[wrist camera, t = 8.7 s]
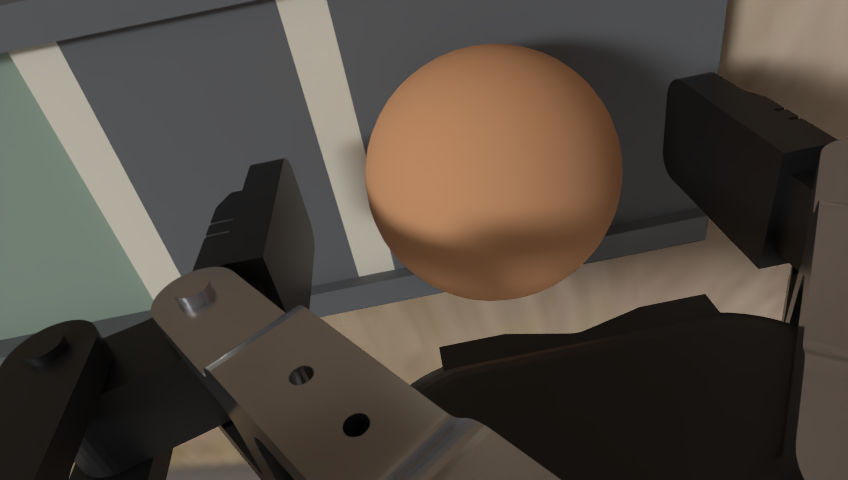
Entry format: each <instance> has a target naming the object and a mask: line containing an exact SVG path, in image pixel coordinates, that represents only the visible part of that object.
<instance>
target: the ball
mask: <svg viewBox="0 0 848 480" xmlns="http://www.w3.org/2000/svg"><path fill="white" fill-rule="evenodd" d="M622 176H623V172H622V155H621V148H620V143H619V138H618V135H617V132H616V130H615V127H614V124H613V121H612V119H611V116H610V114H609V112H608V110H607V109H606V107H605V105H604V103H603V102H602V100H601V99H600V98H599V96H598V95H597V94H596V92H595V91H594V90H593V89H592V87H591V86H590V85H589V84H588V82H586V81H585V80H584V79H583V78H582V77H581V76H580V75H579V74H578V73H577V72H575V71H574V70H573V69H571V68H570V67H568V66H567V65H565V64H564V63H562V62H561V61H559V60H558V59H556V58H554V57H552V56H549V55H547V54H545V53H543V52H540V51H537V50H533V49H530V48H526V47H523V46H518V45H510V44H481V45H474V46H469V47H465V48H461V49H458V50H454V51H452V52H449V53H447V54H444V55H442V56H439V57H437V58H436V59H434V60H432V61H430V62H429V63H427V64H425V65H423V66H422V67H421V68H419V69H418V70H417V71H416V72H414V73H413V74H412V75H410V76H409V77H408V78H407V79H406V80H405V81H404V82H403V83H402V84H401V85H400V86H399V87H398V88H397V89H396V91H395V92H394V93H393V94H392V96H391V97H390V98H389V100H388V101H387V103H386V104H385V106H384V108H383V110H382V111H381V113H380V115H379V117H378V119H377V122H376V124H375V127H374V129H373V131H372V134H371V137H370V141H369V145H368V149H367V158H366V167H365V182H366V191H367V196H368V201H369V207H370V210H371V213H372V216H373V219H374V222H375V224H376V226H377V228H378V230H379V232H380V234H381V236H382V238H383V240H384V242H385V243H386V244H387V246H388V247H389V248H390V250H391V251H392V253H393V254H394V255H395V256H396V257H397V259H398V260H399V261H400V262H401V263H402V264H403V265H404V266H405V267H406V268H407V269H408V270H410V271H411V272H412V273H414V274H415V275H416V276H418V277H419V278H420V279H422V280H423V281H425V282H426V283H428V284H430V285H432V286H433V287H435V288H437V289H440V290H442V291H445V292H447V293H450V294H453V295H456V296H460V297H463V298H468V299H474V300H486V301H495V300H509V299H516V298H521V297H525V296H529V295H532V294H535V293H538V292H540V291H543V290H545V289H547V288H549V287H551V286H553V285H555V284H557V283H558V282H560V281H562V280H563V279H565V278H566V277H567V276H569V275H570V274H571V273H573V272H574V271H575V270H576V269H577V268H579V267H580V266H581V265H582V264H583V263H584V262H585V261H586V260H587V259H588V258H589V257H590V256H591V255H592V253H593V252H594V251H595V250H596V248H597V247H598V246H599V244H600V243H601V241H602V240H603V238H604V236H605V234H606V232H607V231H608V229H609V227H610V225H611V223H612V220H613V218H614V215H615V213H616V210H617V206H618V202H619V198H620V192H621V185H622Z"/></svg>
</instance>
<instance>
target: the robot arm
mask: <svg viewBox="0 0 848 480" xmlns="http://www.w3.org/2000/svg"><path fill="white" fill-rule="evenodd" d="M663 160H664V165H665V168H666V171H667V173H668V175H669V176H670V178H671V179H672V180H673V181H674V182H675V183H676V184H677V185H678V186H679V187H680V188H681V189H682V190H683V191H684V192H685V193H686V194H687V195H688V196H689V197H690V199H691V200H692V201H693V202H694V203H695V204H696V205H697V206H698V207H699V208H700V209H701V210H702V211H703V212H704V213H705V214H706V215H707V216H708V217H709V218H710V219H711V220H712V221H713V222H714V223H715V224H716V225H717V226H718V227H719V228H720V229H721V230H722V232H723V233H724V234H725V235H726V236H727V237H728V238H729V239H730V240H731V241H732V242H733V243H734V244H735V245H736V246H737V247H738V248H739V249H740V250H741V251H742V252H743V253H744V254H745V255H746V256H747V257H748V258H749V259H750V260H751V261H752V262H753V263H754V264H755V266H756V267H757V268H758V269H761V268H766V267H771V266H776V265H781V264H786V263H790V264H791V265H792V267H791V271H790V275H789V279H788V284H787V290H786V296H785V303H784V309H783V315H782V321H779V320H775V319H771V318H766V317H762V316H755V315H748V314H739V313H720V312H719V311H718V309H717V308H716V307H715V306H714V304H713V303H712V302H711V301H710V299H709V298H708V297H707V296H706V294H703V295H698V296H693V297H688V298H683V299H678V300H673V301H668V302H663V303H658V304H653V305H648V306H643V307H639V308H637V309H634V310H632V311H630V312H627V313H625V314H623V315H620V316H618V317H616V318H613V319H611V320H608V321H606V322H604V323H601V324H599V325H597V326H594V327H592V328H590V329H587V330H585V331H582V332H579V333H572V334H503V335H498V336H493V337H488V338H483V339H478V340H473V341H468V342H463V343H458V344H453V345H448V346H443V347H439V348H440V354H441V360H442V365H443V367H442V368H439V369H437V370H435V371H433V372H431V373H429V374H427V375H425V376H424V377H422V378H420V379H418V380H417V381H415V382H414V383H413V384H411V385H409V384H408V383H406V382H405V381H404V380H402V379H401V378H400V377H398V376H397V375H396V374H394V373H393V372H392V371H390V370H389V369H388V368H386V367H385V366H384V365H382V364H381V363H380V362H378V361H377V360H376V359H374V358H373V357H372V356H370V355H369V354H368V353H366V352H365V351H364V350H362V349H361V348H360V347H358V346H357V345H356V344H354V343H353V342H352V341H350V340H349V339H348V338H346V337H345V336H344V335H342V334H341V333H339V332H338V331H337V330H335V329H334V328H333V327H331V326H330V325H329V324H327V323H326V322H325V321H323V320H322V319H321V318H319V317H318V316H317V315H315V314H314V313H313V312H311V311H310V310H309V309H310V297H311V286H312V274H313V263H314V252H315V243H314V235H313V230H312V226H311V222H310V219H309V216H308V213H307V210H306V207H305V204H304V201H303V199H302V196H301V193H300V190H299V187H298V184H297V181H296V178H295V175H294V172H293V169H292V167H291V164H290V162H289V161H288V159H287V158H283V159H278V160H273V161H268V162H263V163H258V164H253V165H250V167H249V170H248V173H247V176H246V180H245V183H244V186H243V189H242V190H241V191H236V192H231V193H230V194H229V195H228V196H227V197H226V198H225V199H224V200H223V201H222V202H221V203H220V204H219V205H218V206H217V207H216V209H215V212H214V214H213V217H212V220H211V222H210V223H211V225H210V226H209V228H208V230H207V233H206V238H204V241H203V244H202V246H201V249H200V252H199V255H198V257H197V260H196V263H195V265H194V268H193V271H192V272H190V273H187V274H185V275H183V276H181V277H179V278H177V279H176V280H174V281H172V282H171V283H170V284H168V285H167V286H166V287H165V288H163V289H162V290H161V291H160V292H159V294H158V295H157V296H156V298H155V299H154V301H153V303H152V306H151V315H152V318H150V319H148V320H146V321H144V322H141V323H139V324H137V325H134V326H132V327H129V328H127V329H124V330H122V331H119V332H117V333H115V334H112V335H110V336H107V337H105V338H103V337H102V335H101V334H100V332H99V331H98V329H97V328H96V327H95V325H94V324H93V323H91V322H90V321H86V320H70V321H64V322H61V323H57V324H55V325H52V326H49V327H47V328H45V329H43V330H41V331H39V332H37V333H35V334H34V335H32V336H31V337H29V338H28V339H26V340H25V341H23V342H22V343H21V344H19V345H18V346H17V347H16V348H15V349H14V350H13V351H12V352H11V353H10V354H9V355H8V356H7V357H6V359H5V360H4V361H3V363H2V364H1V366H0V480H166V477H167V473H168V468H169V464H170V460H171V455H172V451H173V448H174V447H176V446H178V445H180V444H182V443H184V442H186V441H188V440H191V439H193V438H195V437H197V436H199V435H201V434H203V433H205V432H207V431H210V430H212V429H214V428H216V427H219V428H220V430H221V431H222V433H223V434H224V435H225V436H226V437H227V439H228V440H229V441H230V442H231V444H232V445H233V446H234V447H235V449H236V450H237V451H238V452H239V453H240V455H241V456H242V457H243V458H244V460H245V461H246V462H247V463H248V465H249V466H250V467H251V468H252V470H253V471H254V472H255V473H256V474H257V476H258V477H259V478H260V479H261V480H848V138H846V139H841V140H837V139H835V138H834V137H832V136H830V135H829V134H827V133H825V132H824V131H822V130H820V129H819V128H817V127H815V126H814V125H812V124H810V123H809V122H807V121H805V120H804V119H802V118H801V119H798V116H797V115H795V114H794V113H792V112H790V111H789V110H784V107H782V106H780V105H779V104H777V103H775V102H774V101H772V100H770V99H769V98H767V97H764V96H761V95H757V94H754V93H750V92H747V91H743V90H741V89H740V88H738V87H736V86H735V85H733V84H732V83H730V82H728V81H727V80H725V79H723V78H722V77H720V76H719V75H717V74H715V73H713V72H709V73H704V74H699V75H694V76H689V77H684V78H680V79H675V80H673V81H672V82H671V83H670V85H669V88H668V92H667V102H666V115H665V128H664V141H663ZM74 462H75V466H74V469H73V471H72V474H71V476H70V479H69V475H70V471H71V468H72V466H73V463H74Z"/></svg>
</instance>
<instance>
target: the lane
mask: <svg viewBox="0 0 848 480" xmlns="http://www.w3.org/2000/svg"><path fill="white" fill-rule="evenodd" d="M727 2H728V0H0V366H1V364H2V363H3V361H4V360H5V359H6V357H7V356H8V355H9V354H10V353H11V352H12V351H13V350H14V349H15V348H16V347H17V346H18V345H19V344H21V343H22V342H23V341H25V340H26V339H28V338H29V337H31V336H32V335H34V334H35V333H37V332H39V331H41V330H43V329H45V328H47V327H49V326H52V325H55V324H57V323H61V322H64V321H70V320H86V321H90V322H91V323H93V324H94V325H95V327H96V328H97V329H98V331H99V332H100V334H101V335H102V337H103V338H105V337H107V336H110V335H112V334H115V333H117V332H119V331H122V330H124V329H127V328H129V327H132V326H134V325H137V324H139V323H141V322H144V321H146V320H148V319H150V318H152V315H151V306H152V303H153V301H154V299H155V298H156V296H157V295H158V294H159V292H160V291H161V290H162V289H163V288H165V287H166V286H167V285H168V284H170V283H171V282H172V281H174V280H176V279H177V278H179V277H181V276H183V275H185V274H187V273H190V272H192V271H193V268H194V265H195V263H196V260H197V257H198V255H199V252H200V249H201V246H202V244H203V241H204V238H206V233H207V230H208V228H209V226H210V225H211V223H210V222H211V220H212V217H213V214H214V212H215V209H216V207H217V206H218V205H219V204H220V203H221V202H222V201H223V200H224V199H225V198H226V197H227V196H228V195H229V194H230V193H231V192H236V191H241V190H242V189H243V186H244V183H245V180H246V176H247V173H248V170H249V167H250V165H253V164H258V163H263V162H268V161H273V160H278V159H283V158H287V159H288V161H289V162H290V164H291V167H292V169H293V172H294V175H295V178H296V181H297V184H298V187H299V190H300V193H301V196H302V199H303V201H304V204H305V207H306V210H307V213H308V216H309V219H310V222H311V226H312V230H313V235H314V243H315V252H314V263H313V274H312V286H311V297H310V309H309V310H310V311H311V312H313V313H314V314H315V315H317V316H318V317H323V316H328V315H333V314H338V313H343V312H348V311H353V310H358V309H363V308H368V307H373V306H378V305H383V304H388V303H393V302H398V301H403V300H408V299H413V298H418V297H423V296H428V295H433V294H438V293H443V292H445V291H442V290H440V289H437V288H435V287H433V286H432V285H430V284H428V283H426V282H425V281H423V280H422V279H420V278H419V277H418V276H416V275H415V274H414V273H412V272H411V271H410V270H408V269H407V268H406V267H405V266H404V265H403V264H402V263H401V262H400V261H399V260H398V259H397V257H396V256H395V255H394V254H393V253H392V251H391V250H390V248H389V247H388V246H387V244H386V243H385V242H384V240H383V238H382V236H381V234H380V232H379V230H378V228H377V226H376V224H375V222H374V219H373V216H372V213H371V210H370V207H369V201H368V196H367V191H366V182H365V167H366V158H367V149H368V145H369V141H370V137H371V134H372V131H373V129H374V127H375V124H376V122H377V119H378V117H379V115H380V113H381V111H382V110H383V108H384V106H385V104H386V103H387V101H388V100H389V98H390V97H391V96H392V94H393V93H394V92H395V91H396V89H397V88H398V87H399V86H400V85H401V84H402V83H403V82H404V81H405V80H406V79H407V78H408V77H409V76H410V75H412V74H413V73H414V72H416V71H417V70H418V69H419V68H421V67H422V66H423V65H425V64H427V63H429V62H430V61H432V60H434V59H436V58H437V57H439V56H442V55H444V54H447V53H449V52H452V51H454V50H458V49H461V48H465V47H469V46H474V45H481V44H510V45H518V46H523V47H526V48H530V49H533V50H537V51H540V52H543V53H545V54H547V55H549V56H552V57H554V58H556V59H558V60H559V61H561V62H562V63H564V64H565V65H567V66H568V67H570V68H571V69H573V70H574V71H575V72H577V73H578V74H579V75H580V76H581V77H582V78H583V79H584V80H585V81H586V82H588V84H589V85H590V86H591V87H592V89H593V90H594V91H595V92H596V94H597V95H598V96H599V98H600V99H601V100H602V102H603V103H604V105H605V107H606V109H607V110H608V112H609V114H610V116H611V119H612V121H613V124H614V127H615V130H616V132H617V135H618V138H619V143H620V148H621V155H622V172H623V176H622V185H621V192H620V198H619V202H618V206H617V210H616V213H615V215H614V218H613V220H612V223H611V225H610V227H609V229H608V231H607V232H606V234H605V236H604V238H603V240H602V241H601V243H600V244H599V246H598V247H597V248H596V250H595V251H594V252H593V253H592V255H591V256H590V257H589V258H588V259H587V260H586V261H585V262H584V263H583V264H587V263H592V262H597V261H602V260H607V259H612V258H617V257H622V256H627V255H632V254H637V253H642V252H647V251H652V250H657V249H662V248H667V247H672V246H677V245H682V244H687V243H692V242H697V241H701V240H705V236H706V229H707V222H708V216H707V215H706V214H705V213H704V212H703V211H702V210H701V209H700V208H699V207H698V206H697V205H696V204H695V203H694V202H693V201H692V200H691V199H690V197H689V196H688V195H687V194H686V193H685V192H684V191H683V190H682V189H681V188H680V187H679V186H678V185H677V184H676V183H675V182H674V181H673V180H672V179H671V178H670V176H669V175H668V173H667V171H666V168H665V165H664V160H663V141H664V128H665V115H666V102H667V92H668V88H669V85H670V83H671V82H672V81H673V80H675V79H680V78H684V77H689V76H694V75H699V74H704V73H709V72H713V73H715V74H717V75H718V72H719V64H720V56H721V48H722V41H723V33H724V25H725V18H726V10H727Z"/></svg>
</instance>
